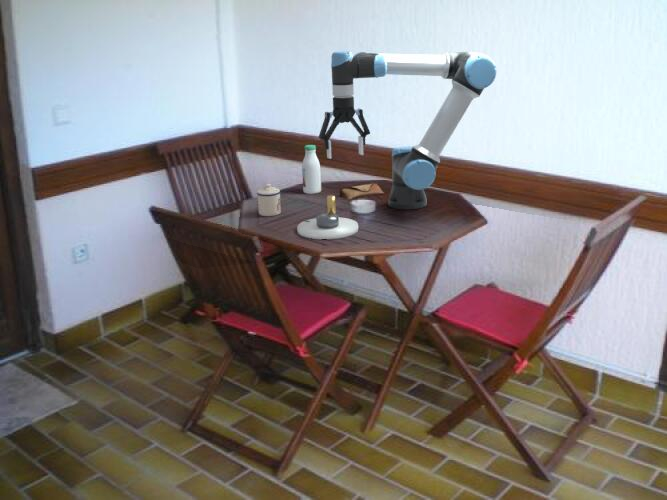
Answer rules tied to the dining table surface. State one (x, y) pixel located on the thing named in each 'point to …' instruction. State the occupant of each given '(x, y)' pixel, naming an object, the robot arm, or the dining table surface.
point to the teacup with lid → (269, 201)
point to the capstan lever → (328, 215)
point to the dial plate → (327, 229)
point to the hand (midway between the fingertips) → (345, 156)
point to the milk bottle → (311, 171)
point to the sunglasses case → (360, 191)
